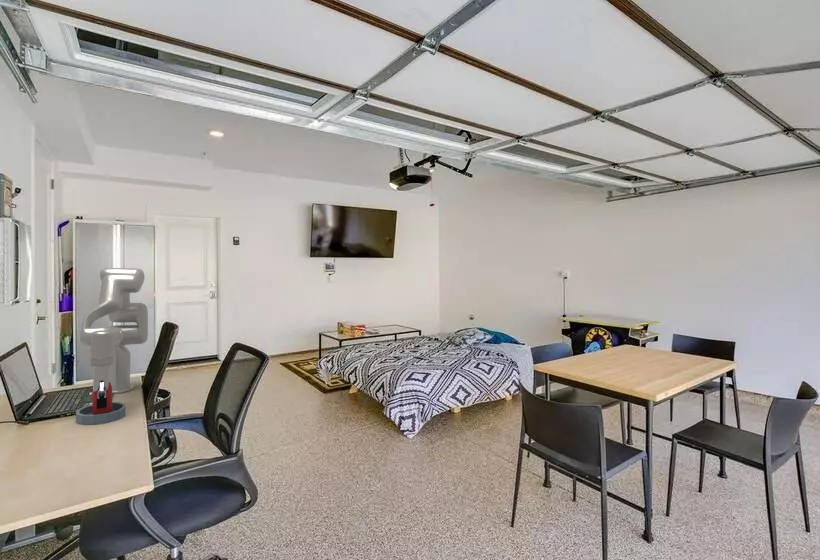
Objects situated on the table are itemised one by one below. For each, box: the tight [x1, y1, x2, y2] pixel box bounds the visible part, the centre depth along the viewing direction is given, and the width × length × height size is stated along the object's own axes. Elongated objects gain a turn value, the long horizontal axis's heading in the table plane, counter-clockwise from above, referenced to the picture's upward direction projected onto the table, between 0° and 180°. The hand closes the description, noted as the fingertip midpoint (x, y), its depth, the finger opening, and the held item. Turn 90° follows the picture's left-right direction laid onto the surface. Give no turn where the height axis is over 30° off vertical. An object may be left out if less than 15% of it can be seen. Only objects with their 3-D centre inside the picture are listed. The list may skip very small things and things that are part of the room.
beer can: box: [91, 382, 113, 415], centre depth 170 cm, size 7×7×12 cm
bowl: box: [75, 401, 127, 426], centre depth 170 cm, size 16×16×4 cm
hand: (101, 404), depth 170 cm, fingers closed on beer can, 6 cm apart
